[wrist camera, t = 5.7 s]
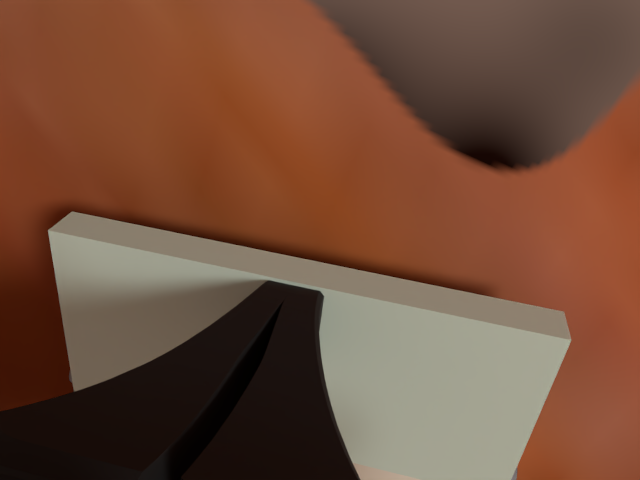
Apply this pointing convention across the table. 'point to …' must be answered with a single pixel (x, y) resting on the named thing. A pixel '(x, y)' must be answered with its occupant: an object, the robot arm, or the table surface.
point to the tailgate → (325, 341)
